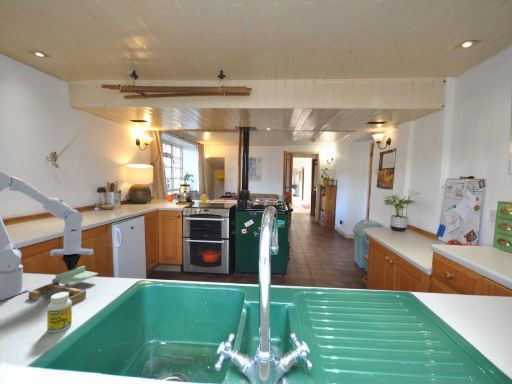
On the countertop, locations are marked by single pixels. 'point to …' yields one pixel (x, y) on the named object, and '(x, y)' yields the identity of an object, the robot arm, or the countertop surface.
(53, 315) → the supplement bottle
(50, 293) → the gray rectangular block
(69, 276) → the cover
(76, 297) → the brown wooden frame
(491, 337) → the countertop surface
